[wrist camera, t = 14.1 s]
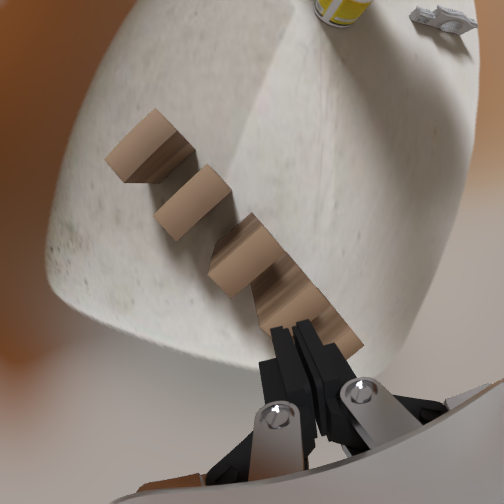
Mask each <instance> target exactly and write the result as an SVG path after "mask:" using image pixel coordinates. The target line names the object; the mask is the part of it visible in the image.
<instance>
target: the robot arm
mask: <svg viewBox="0 0 504 504" xmlns="http://www.w3.org/2000/svg"><path fill="white" fill-rule="evenodd" d="M292 331H293V337H294V341H293V339H292V336H291V334H290V331H289V329H288V328H284V329H283V326H279V327H274V328H270V332H271V337H272V341H273V345H274V350H275V354H276V358H274V359H270V360H266V361H261V362H259V369H260V375H261V381H262V387H263V393H264V400H265V405H264V406H263V407H262V408H260V409H259V411H258V412H257V413H256V416H255V420H254V430H253V431H252V432H251V433H250V434H249V435H248V436H247V437H246V438H245V439H244V440H243V441H242V442H241V443H240V444H239V445H238V446H236V447H235V448H234V449H233V450H232V451H231V452H230V453H229V454H227V455H226V456H225V457H224V458H223V459H222V460H221V461H219V462H218V463H217V464H216V465H215V466H214V467H212V468H211V469H210V471H209V472H208V473H207V474H203V475H200V474H199V473H196V474H192V475H187V476H182V477H178V478H172V479H167V480H161V481H155V482H149V483H146V484H144V485H142V486H141V487H139V489H138V490H137V492H136V493H134V494H130V495H126V496H123V497H121V498H118V499H116V500H114V501H112V502H111V503H109V504H504V379H502V380H499V381H497V382H495V383H494V384H484V385H481V386H479V387H477V388H474V389H472V390H469V391H467V392H464V393H462V394H459V395H456V396H453V397H451V398H448V399H445V401H444V403H440V402H436V401H430V400H423V399H416V398H409V397H403V396H397V395H392V394H391V393H390V392H389V391H387V389H386V388H385V387H384V386H383V385H381V384H380V382H378V381H377V380H375V379H373V378H369V377H360V378H357V377H356V376H355V374H354V372H353V371H352V369H351V367H350V366H349V364H348V363H347V361H346V359H345V358H344V356H343V354H342V353H341V351H340V350H339V348H338V346H337V345H336V344H335V343H334V342H333V343H330V344H327V345H323V343H322V342H321V340H320V338H319V336H318V334H317V333H316V331H315V329H314V327H313V325H312V324H311V322H310V320H309V319H306V320H302V321H298V322H296V326H292ZM294 342H295V344H294ZM315 419H316V421H315ZM316 422H317V425H318V428H319V431H320V434H321V436H325V435H327V438H328V441H329V442H330V441H333V442H336V443H339V444H341V446H342V449H343V451H344V452H345V454H346V455H347V457H348V458H346V459H343V460H341V461H337V462H334V463H331V464H327V465H324V466H321V467H317V468H313V469H310V470H309V462H308V455H309V454H310V453H311V452H312V450H313V449H314V448H315V440H314V439H315V438H317V429H316Z"/></svg>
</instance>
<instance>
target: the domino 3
mask: <svg viewBox="0 0 504 504" xmlns="http://www.w3.org/2000/svg"><path fill="white" fill-rule="evenodd" d="M284 253H286V252H285V251H284V250H283V248H282V247H281V246H280V245H279V243H278V242H277V241H276V240H275V239H274V237H273V236H272V235H271V234H270V232H269V231H268V230H267V229H266V228H265V227H264V225H263V224H262V223H261V222H260V221H259V220H258V219H257V217H256V216H255V215H254V214H253V213H251V214H249V215H248V216H247V217H246V218H245V219H244V220H243V221H241V222H240V223H239V224H238V225H237V226H236V227H235V228H233V229H232V230H231V231H230V232H229V233H228V234H227V235H226V236H224V237H223V238H222V239H221V240H220V241H219V242H218V243H217V244H216V245H215V248H214V252H213V255H212V259H211V263H210V267H209V271H208V276H209V277H210V278H211V279H212V280H213V281H214V282H215V283H216V284H217V285H218V286H219V287H220V288H221V289H222V290H223V291H224V292H225V293H226V294H227V295H228V296H229V297H230V298H231V299H232V298H233V297H234V296H235V295H236V294H238V293H239V292H240V291H241V290H242V289H243V288H245V287H246V286H247V285H248V284H249V283H251V282H252V281H253V280H254V279H255V278H256V277H258V276H259V275H260V274H261V273H262V272H264V271H265V270H266V269H267V268H268V267H269V266H271V265H272V264H273V263H274V262H275V261H276V260H278V259H279V258H280V257H281V256H282V255H283V254H284Z"/></svg>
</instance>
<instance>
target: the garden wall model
mask: <svg viewBox="0 0 504 504" xmlns="http://www.w3.org/2000/svg"><path fill="white" fill-rule="evenodd" d="M437 8H438V9H436V10H435V11H433V12H431V11H430V10H428V9H424V10H423V9H422V8H421V7H418V6H417V7H416V9H415V10H414V11H413V12H412V13H411V14H410V15H409V16H410V18H411V20H412V21H414V22H418V23H422V24H426V25H429V26H433V27H436V28H439V29H441V30H442V31H444V32H452V33H455V34H458V35H461V34H463V33H465V32H467V31H469V30H471V29H473V28H478V26H477V25H478V23H476V22H475V21H474V19H472V20H471V18H468V17H467V16H466V15H465V14H463V13H462V12H460V11H455V10H453V9H450V10H449V9H448V10H447V8H443V7H441V6H439V5H438V6H437Z"/></svg>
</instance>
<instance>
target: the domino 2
mask: <svg viewBox="0 0 504 504" xmlns="http://www.w3.org/2000/svg"><path fill="white" fill-rule="evenodd" d="M231 191H232V189H231V188H230V187H229V186H228V185H227V184H226V183H225V182H224V180H223V179H222V178H221V177H220V176H219V175H218V174H217V173H216V172H215V171H214V170H213V169H212V168H211V167H210V166H209V165H208V164H207V165H205V166H204V167H203V168H202V169H201V170H200V171H199V172H198V173H196V174H195V175H194V176H193V177H192V178H191V179H190V180H189V181H188V182H187V183H186V184H185V185H184V186H182V187H181V188H180V189H179V190H178V191H177V192H176V193H175V194H174V195H173V196H172V197H171V198H170V199H169V200H168V201H167V202H166V203H165V204H164V205H163V206H162V207H161V208H160V209H159V210H158V211H157V212H156V213H155V214H154V215H153V217H154V218H155V219H156V220H157V221H158V222H159V223H160V225H161V226H162V227H163V228H164V229H165V230H166V231H167V232H168V233H169V234H170V235H171V237H172V238H173V239H174V240H175V241H176V242H177V241H178V240H179V239H180V238H181V237H182V236H183V235H184V234H185V233H186V232H187V231H188V230H189V229H190V228H191V227H192V226H193V225H195V224H196V223H197V222H198V221H199V220H200V219H201V218H202V217H203V216H204V215H205V214H206V213H208V212H209V211H210V210H211V209H212V208H213V207H214V206H215V205H216V204H218V203H219V202H220V201H221V200H222V199H223V198H224V197H225V196H226V195H228V194H229V193H230V192H231Z"/></svg>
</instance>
